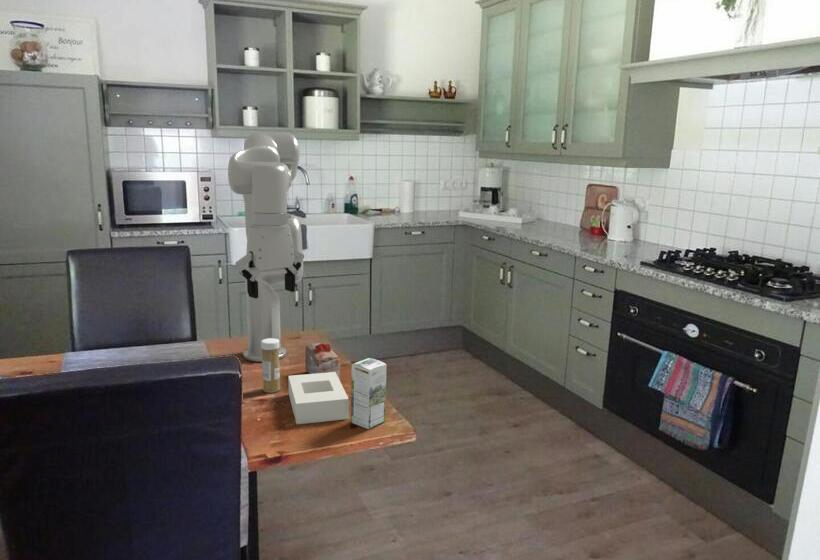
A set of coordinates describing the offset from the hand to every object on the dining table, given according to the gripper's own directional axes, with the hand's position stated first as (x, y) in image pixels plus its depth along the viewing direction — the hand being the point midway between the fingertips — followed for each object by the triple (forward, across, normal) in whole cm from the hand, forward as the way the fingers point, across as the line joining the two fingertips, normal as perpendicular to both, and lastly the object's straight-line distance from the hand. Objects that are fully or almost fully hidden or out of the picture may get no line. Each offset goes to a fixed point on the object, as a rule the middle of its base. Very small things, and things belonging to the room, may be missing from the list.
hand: (272, 293), depth 141 cm
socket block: (+28, -8, +5) cm, 30 cm away
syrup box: (+29, -12, +21) cm, 37 cm away
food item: (+29, -20, -9) cm, 36 cm away
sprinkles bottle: (+29, -6, -11) cm, 31 cm away
